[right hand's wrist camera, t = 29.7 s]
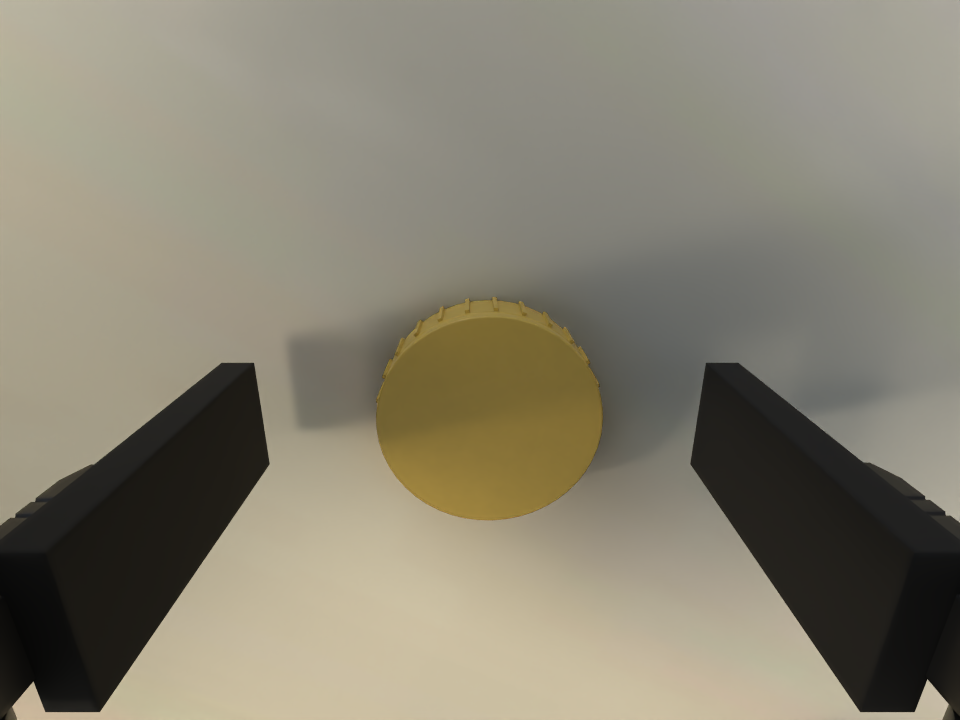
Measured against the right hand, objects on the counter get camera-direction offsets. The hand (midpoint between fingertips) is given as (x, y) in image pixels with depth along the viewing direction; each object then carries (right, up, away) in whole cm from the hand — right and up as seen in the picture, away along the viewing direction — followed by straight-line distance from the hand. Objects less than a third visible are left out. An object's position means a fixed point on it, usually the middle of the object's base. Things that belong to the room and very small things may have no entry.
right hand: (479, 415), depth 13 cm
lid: (0, 0, 0) cm, 1 cm away
